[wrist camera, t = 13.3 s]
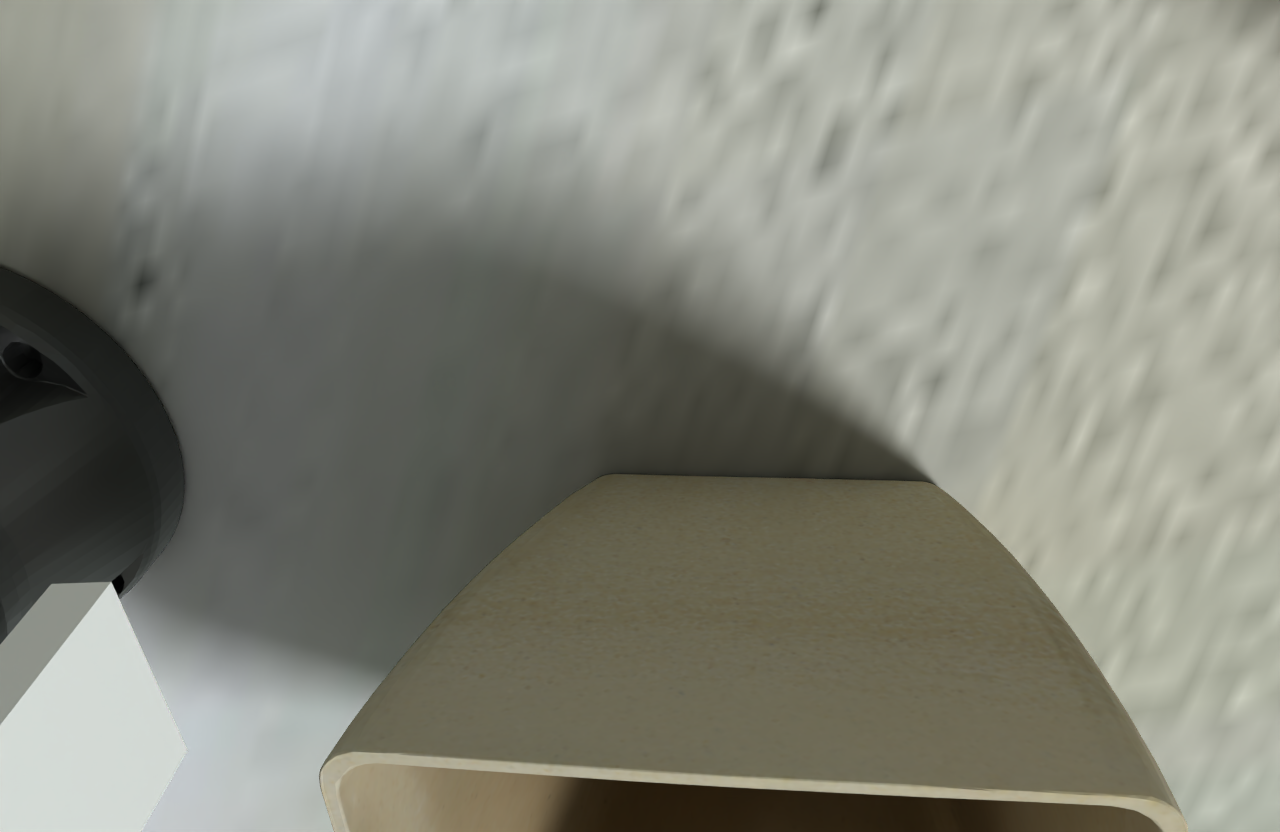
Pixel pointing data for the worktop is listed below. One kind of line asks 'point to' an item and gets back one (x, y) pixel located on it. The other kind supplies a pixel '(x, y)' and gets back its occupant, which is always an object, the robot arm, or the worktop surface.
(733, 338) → the worktop surface
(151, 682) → the robot arm
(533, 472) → the worktop surface
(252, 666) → the worktop surface
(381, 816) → the flower pot
